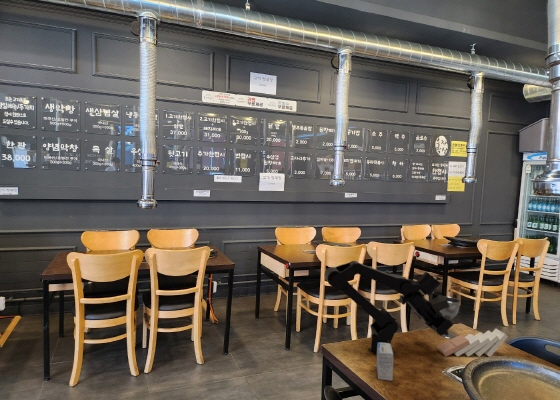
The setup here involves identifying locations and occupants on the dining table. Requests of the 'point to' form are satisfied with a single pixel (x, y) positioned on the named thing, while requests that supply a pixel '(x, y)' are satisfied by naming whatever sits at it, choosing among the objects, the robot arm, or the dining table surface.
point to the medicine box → (384, 361)
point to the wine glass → (451, 312)
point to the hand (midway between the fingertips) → (447, 334)
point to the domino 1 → (453, 345)
